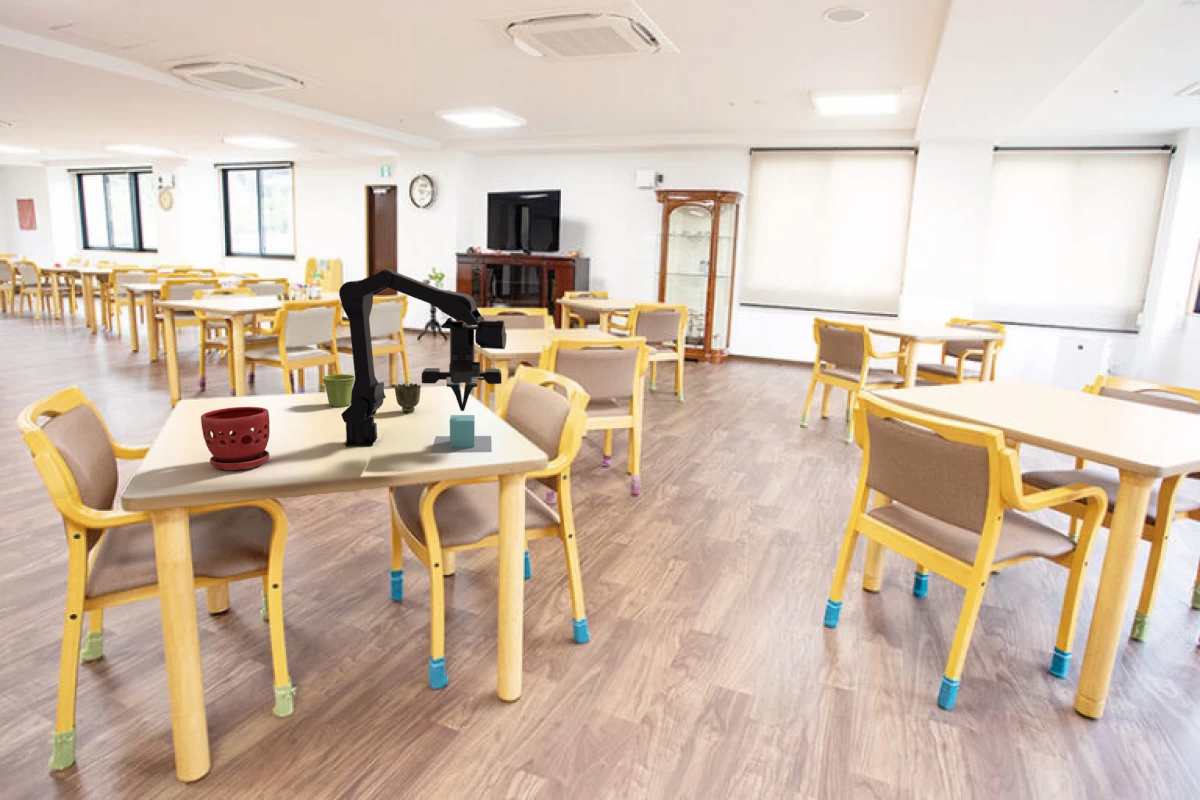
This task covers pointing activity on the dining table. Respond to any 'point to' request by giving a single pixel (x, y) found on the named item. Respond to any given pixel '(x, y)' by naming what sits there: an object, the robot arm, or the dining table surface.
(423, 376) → the robot arm
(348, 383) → the plant pot
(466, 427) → the teal block
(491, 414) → the dining table surface
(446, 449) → the base board
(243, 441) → the plant pot
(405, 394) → the scalloped urn planter
